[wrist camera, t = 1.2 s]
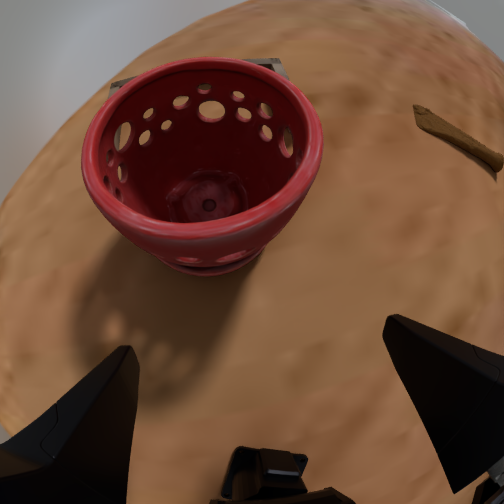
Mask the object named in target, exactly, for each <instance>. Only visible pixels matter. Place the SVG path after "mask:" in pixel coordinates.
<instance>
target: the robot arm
mask: <svg viewBox="0 0 504 504" xmlns="http://www.w3.org/2000/svg"><path fill="white" fill-rule="evenodd" d="M382 337H383V340H384V343H385V345H386V347H387V350H388V352H389V355H390V357H391V359H392V362H393V364H394V367H395V369H396V371H397V373H398V375H399V377H400V379H401V381H402V382H403V384H404V386H405V388H406V390H407V392H408V394H409V396H410V398H411V400H412V402H413V404H414V406H415V408H416V410H417V412H418V414H419V416H420V418H421V420H422V422H423V424H424V426H425V428H426V430H427V433H428V435H429V437H430V439H431V441H432V444H433V446H434V448H435V450H436V453H437V455H438V457H439V460H440V462H441V464H442V467H443V469H444V472H445V474H446V477H447V479H448V482H449V484H450V487H451V490H452V492H453V494H456V493H457V492H459V491H460V490H462V489H463V488H464V487H466V486H467V485H469V484H470V483H472V482H473V481H474V480H476V479H477V478H478V477H480V476H481V475H482V474H483V473H485V472H486V471H487V472H488V474H489V477H488V478H486V479H485V480H484V481H483V482H482V483H481V484H479V485H478V486H477V487H476V490H475V494H474V498H473V501H472V504H504V356H502V355H499V354H496V353H493V352H490V351H488V350H485V349H482V348H480V347H477V346H475V345H471V344H470V343H467V342H465V341H463V340H460V339H458V338H455V337H453V336H450V335H448V334H445V333H443V332H441V331H438V330H436V329H433V328H431V327H428V326H426V325H424V324H421V323H419V322H416V321H414V320H411V319H409V318H406V317H404V316H402V315H399V314H394V315H390V316H388V317H387V319H386V322H385V326H384V330H383V334H382ZM139 372H140V366H139V362H138V360H137V357H136V354H135V352H134V349H133V347H132V346H130V345H122V346H119V347H118V348H117V349H116V350H114V351H113V352H112V353H111V354H110V355H109V356H108V357H106V358H105V359H104V360H103V361H102V362H101V363H100V364H98V365H97V366H96V367H95V368H94V369H93V370H92V371H90V372H89V373H88V374H87V375H86V376H85V377H84V378H83V379H81V380H80V381H79V382H78V383H77V384H76V385H75V386H74V387H72V388H71V389H70V390H69V391H68V392H67V393H66V394H65V395H63V396H62V397H61V398H60V399H59V400H58V401H57V402H56V403H54V404H53V405H52V406H51V407H50V408H49V409H48V410H47V411H45V412H44V413H43V414H42V415H41V416H40V417H38V418H37V419H36V420H35V421H33V422H32V423H31V424H29V425H28V426H27V427H25V428H24V429H23V430H21V431H20V432H19V433H17V434H16V435H14V436H13V437H12V438H10V439H9V440H8V441H6V442H4V443H2V444H0V504H126V497H127V483H128V472H129V463H130V454H131V446H132V438H133V431H134V425H135V418H136V412H137V403H138V386H139ZM240 450H242V451H244V452H243V453H239V451H240ZM302 458H304V460H302V461H300V459H302ZM307 462H308V458H307V456H306V455H304V454H294V453H290V452H289V451H281V450H273V449H266V448H262V449H255V448H249V447H244V446H239V447H237V448H236V449H235V452H234V455H233V458H232V462H231V465H230V468H229V471H228V474H227V477H226V480H225V483H224V486H223V489H222V492H221V496H222V497H223V498H226V499H232V501H218V500H212V499H211V500H210V503H209V504H356V503H355V502H354V501H353V500H352V499H350V498H348V497H347V496H345V495H343V494H342V493H340V492H339V491H337V490H335V489H334V488H332V487H328V488H324V490H319V491H314V492H309V493H307V492H308V490H307V488H306V486H305V484H304V482H303V480H302V478H301V476H302V474H303V471H304V469H305V467H306V464H307ZM226 493H228V495H226Z"/></svg>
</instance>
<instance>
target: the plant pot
mask: <svg viewBox="0 0 504 504" xmlns="http://www.w3.org/2000/svg"><path fill="white" fill-rule="evenodd" d="M203 83H207V84H210V85H211V86H212V87H211V88H210V89H209V90H205V91H204V90H200V89H199V88H198V86H199V85H200V84H203ZM234 91H239V92H241V93H243V94H244V96H245V97H244V98H238V97H236V96H234V94H233V92H234ZM178 96H188V97H189V99H188V101H187V102H186V103H185V104H183V105H180V106H174V105H173V101H174V99H175V98H176V97H178ZM206 101H217V102H219V103H221V104H222V105H223V106H224V108H225V114H224V116H222V117H221V118H217V119H210V118H206V117H204V116H203V115H202V114H201V113H200V112H199V106H200V104H201V103H203V102H206ZM261 103H265V104H267V105H269V106H270V107H271V109H272V111H273V115H272V116H271V117H270V116H267V115H266V114H265V113H264V112H263V110H262V109H261ZM150 108H153V114H152V115H151V116H150V117H148V118H146V119H144V118H143V115H144V113H145V112H146V111H147V110H148V109H150ZM238 108H245V109H247V110H249V111H250V112H251V115H252V117H251V118H250V119H245V118H243V117H241V116H240V115H239V113H238ZM166 120H170V121H172V124H171V126H170V127H169V128H168V129H165V130H162V129H161V125H162V123H163V122H165V121H166ZM125 122H129V123H130V126H131V132H130V136H129V139H128V141H127V143H126V144H125V146H124V147H123V148H122V149H121V150H119V151H117V149H116V147H115V144H114V138H115V134H116V131H117V129H118V128H119V126H120V125H121V124H123V123H125ZM263 125H266V126H267V127H269V128H270V129H271V131H272V139H269V138H267V137H266V136H265V135H264V133H263V130H262V126H263ZM286 128H288V129H289V130H290V132H291V134H292V139H293V154H292V155H291V156H290V155H289V153H288V151H287V149H286V146H285V142H284V131H285V129H286ZM146 130H149V131H150V137H149V140H148V141H147V142H146V143H145V144H143V145H140V144H139V137H140V135H141V134H142V133H143V132H145V131H146ZM323 146H324V143H323V130H322V126H321V123H320V120H319V117H318V115H317V113H316V111H315V109H314V107H313V106H312V104H311V103H310V101H309V100H308V98H307V97H306V96H305V95H304V94H303V93H302V91H301V90H299V89H298V88H297V87H296V86H295V85H294V84H293V83H291V82H290V81H289V80H287V79H286V78H285V77H283V76H281V75H280V74H278V73H276V72H274V71H272V70H270V69H268V68H265V67H263V66H260V65H257V64H254V63H251V62H248V61H243V60H239V59H232V58H223V57H198V58H190V59H183V60H179V61H175V62H171V63H167V64H164V65H161V66H159V67H156V68H154V69H151V70H149V71H147V72H145V73H143V74H141V75H139V76H137V77H136V78H134V79H132V80H131V81H129V82H128V83H126V84H125V85H124V86H122V87H121V88H120V89H119V90H117V91H116V92H115V93H114V94H113V95H112V96H111V97H110V98H109V99H108V100H107V101H106V102H105V103H104V104H103V106H102V107H101V109H100V110H99V111H98V112H97V114H96V115H95V117H94V118H93V120H92V122H91V124H90V126H89V128H88V130H87V133H86V136H85V139H84V143H83V147H82V156H81V170H82V176H83V180H84V184H85V186H86V189H87V191H88V193H89V195H90V197H91V199H92V200H93V202H94V204H95V205H96V206H97V208H98V209H99V210H100V212H101V213H102V214H103V216H104V217H105V218H106V219H107V220H108V221H109V222H110V223H111V224H112V225H113V226H114V227H115V228H116V229H117V230H118V231H119V232H120V233H121V234H123V235H124V236H125V237H127V238H128V239H129V240H130V241H132V242H133V243H134V244H135V245H137V246H138V247H140V248H141V249H143V250H145V251H146V252H148V253H150V254H152V255H154V256H156V257H157V258H158V259H159V260H160V261H162V262H163V263H164V264H166V265H167V266H169V267H171V268H173V269H175V270H177V271H179V272H182V273H186V274H189V275H195V276H217V275H223V274H226V273H229V272H232V271H235V270H237V269H239V268H241V267H243V266H244V265H246V264H247V263H249V262H250V261H252V260H253V259H254V258H255V257H256V256H257V255H258V254H260V252H261V251H262V250H263V249H264V248H265V246H266V245H267V243H268V242H270V241H271V240H272V239H273V238H274V237H275V236H276V235H277V234H278V233H280V231H281V230H282V229H283V228H284V227H285V226H286V224H287V223H288V222H289V220H290V219H291V218H292V217H293V215H294V214H295V212H296V211H297V209H298V208H299V206H300V205H301V203H302V201H303V200H304V198H305V196H306V195H307V193H308V191H309V189H310V187H311V185H312V183H313V182H314V179H315V177H316V175H317V172H318V170H319V167H320V163H321V159H322V154H323ZM107 154H108V163H107V160H106V156H107ZM118 166H120V168H121V180H119V177H118V171H117V170H118Z"/></svg>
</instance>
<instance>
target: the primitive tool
mask: <svg viewBox="0 0 504 504" xmlns="http://www.w3.org/2000/svg"><path fill="white" fill-rule="evenodd" d="M413 108H414V115H415V120H416V124H417V126H418V127H419V128H421V129H422V130H425V131H427V132H429V133H431V134H433V135H436V136H438V137H441V138H443V139H445V140H447V141H449V142H451V143H453V144H455V145H457V146H459V147H460V148H462V149H464V150H466V151H468V152H469V153H471V154H473V155H476V156H477V157H479V158H480V159H482V160H483V161H485V162H486V163H488V164H489V165H490V166H491V167H492V169H493V170H494V171H495V172H499V171H500V170H501V169H502V168H503V164H504V157H503V155H502V154H500V153H495V152H494V151H492V150H491V149H489V148H487V147H486V146H485V145H483V144H481V143H480V142H478V141H477V140H475V139H474V138H472V137H471V136H469V135H467V134H466V133H464V132H463V131H461V130H460V129H458V128H456V127H455V126H453V125H451V124H450V123H448V122H447V121H445V120H444V119H442V118H440V117H439V116H437V115H435V114H434V113H432V112H431V111H430V109H427V108H424V107H422V106H420V105H413Z"/></svg>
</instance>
